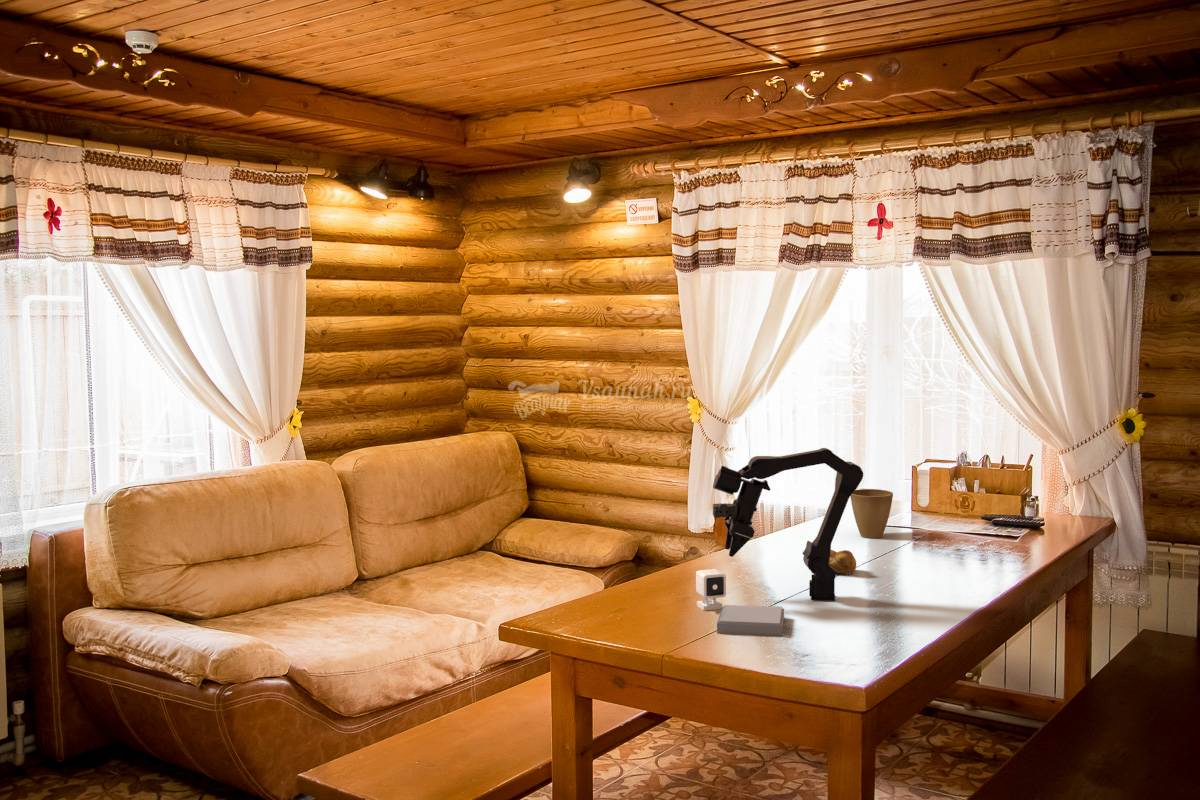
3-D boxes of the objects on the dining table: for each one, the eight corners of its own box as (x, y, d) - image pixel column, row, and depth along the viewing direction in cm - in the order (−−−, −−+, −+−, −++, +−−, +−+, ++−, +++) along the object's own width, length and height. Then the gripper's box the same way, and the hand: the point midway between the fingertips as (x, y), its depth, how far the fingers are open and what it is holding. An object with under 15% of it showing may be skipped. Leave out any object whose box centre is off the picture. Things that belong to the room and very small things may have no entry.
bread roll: (809, 572, 324) (809, 547, 323) (823, 566, 331) (823, 541, 331) (849, 578, 316) (849, 551, 315) (861, 571, 324) (861, 545, 323)
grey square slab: (784, 617, 275) (784, 606, 275) (781, 635, 259) (781, 623, 259) (722, 615, 278) (722, 604, 278) (717, 633, 263) (716, 621, 262)
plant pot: (841, 535, 378) (841, 491, 377) (874, 530, 384) (874, 487, 383) (868, 542, 365) (868, 497, 364) (902, 538, 371) (902, 493, 370)
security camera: (704, 612, 282) (703, 575, 281) (695, 605, 288) (694, 569, 288) (726, 610, 283) (725, 573, 283) (716, 603, 290) (716, 568, 289)
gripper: (716, 485, 300) (698, 536, 302) (724, 496, 282) (704, 550, 283) (753, 498, 301) (734, 549, 302) (763, 509, 282) (743, 563, 283)
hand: (728, 552), depth 292 cm, fingers open, 9 cm apart
